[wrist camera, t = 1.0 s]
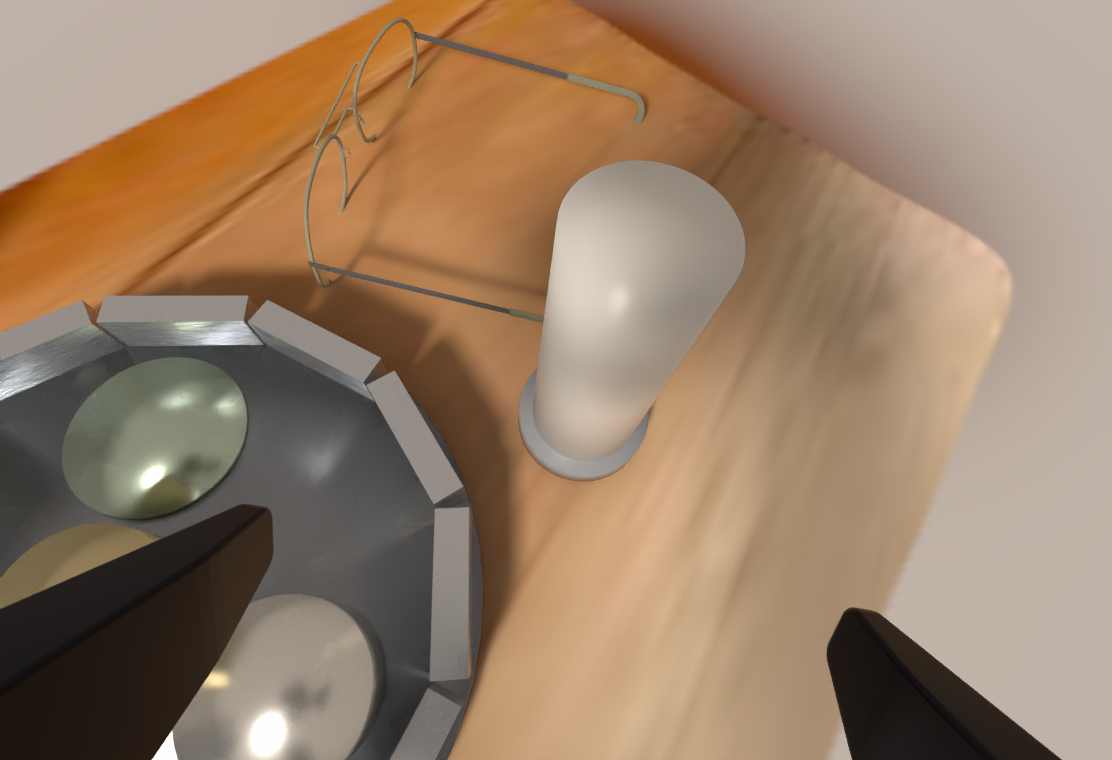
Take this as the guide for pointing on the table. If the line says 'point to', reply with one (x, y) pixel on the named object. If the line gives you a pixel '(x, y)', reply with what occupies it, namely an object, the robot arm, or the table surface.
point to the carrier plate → (264, 480)
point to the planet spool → (623, 309)
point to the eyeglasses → (307, 194)
